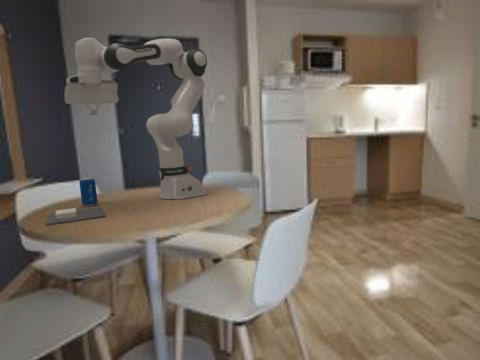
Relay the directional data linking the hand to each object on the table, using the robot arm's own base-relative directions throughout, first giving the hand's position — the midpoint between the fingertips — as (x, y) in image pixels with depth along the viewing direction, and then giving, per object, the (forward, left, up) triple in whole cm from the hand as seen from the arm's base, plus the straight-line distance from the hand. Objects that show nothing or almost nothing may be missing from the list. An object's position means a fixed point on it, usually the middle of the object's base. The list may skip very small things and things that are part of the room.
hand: (93, 114), depth 147 cm
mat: (+11, +8, -39) cm, 41 cm away
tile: (+11, +8, -38) cm, 40 cm away
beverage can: (+5, -12, -39) cm, 41 cm away
